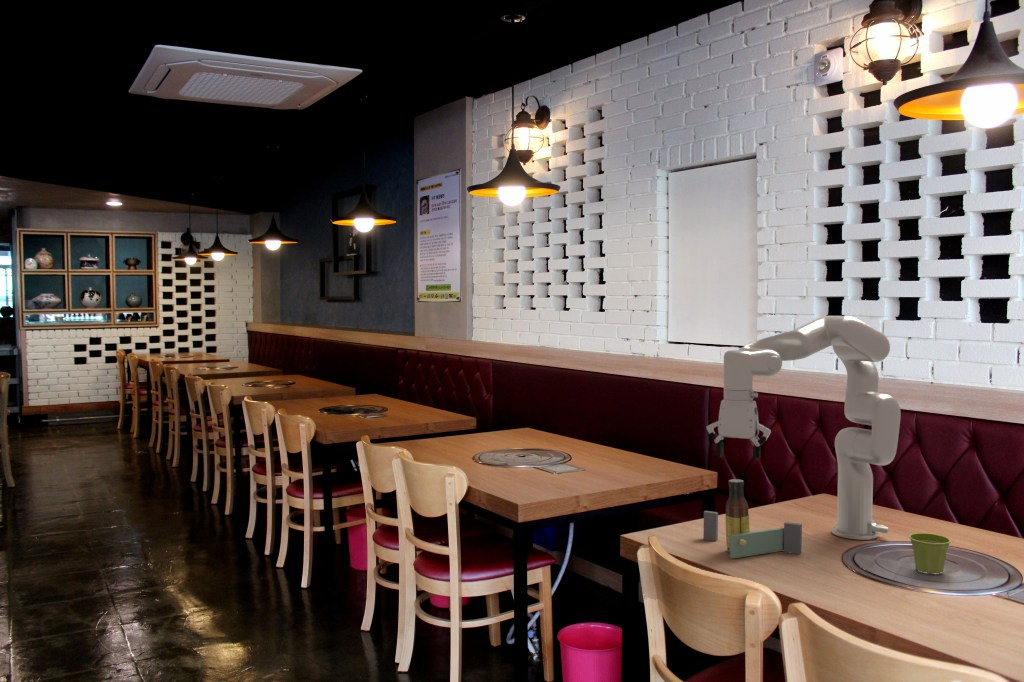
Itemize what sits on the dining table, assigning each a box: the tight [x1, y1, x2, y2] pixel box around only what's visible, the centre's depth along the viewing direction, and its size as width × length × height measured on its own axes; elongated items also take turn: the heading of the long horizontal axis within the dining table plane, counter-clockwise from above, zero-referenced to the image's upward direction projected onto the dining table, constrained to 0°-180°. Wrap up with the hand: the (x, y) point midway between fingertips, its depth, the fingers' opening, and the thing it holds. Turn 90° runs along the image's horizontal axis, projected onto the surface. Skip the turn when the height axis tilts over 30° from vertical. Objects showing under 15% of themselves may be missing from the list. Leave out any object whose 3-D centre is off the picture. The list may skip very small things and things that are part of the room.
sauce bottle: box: [725, 478, 751, 554], centre depth 220 cm, size 6×6×20 cm
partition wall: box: [702, 510, 803, 555], centre depth 226 cm, size 27×2×8 cm, turn 58°
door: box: [729, 527, 784, 559], centre depth 217 cm, size 18×3×6 cm, turn 115°
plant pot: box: [908, 532, 952, 573], centre depth 204 cm, size 9×9×9 cm
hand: (738, 458), depth 218 cm, fingers open, 9 cm apart
